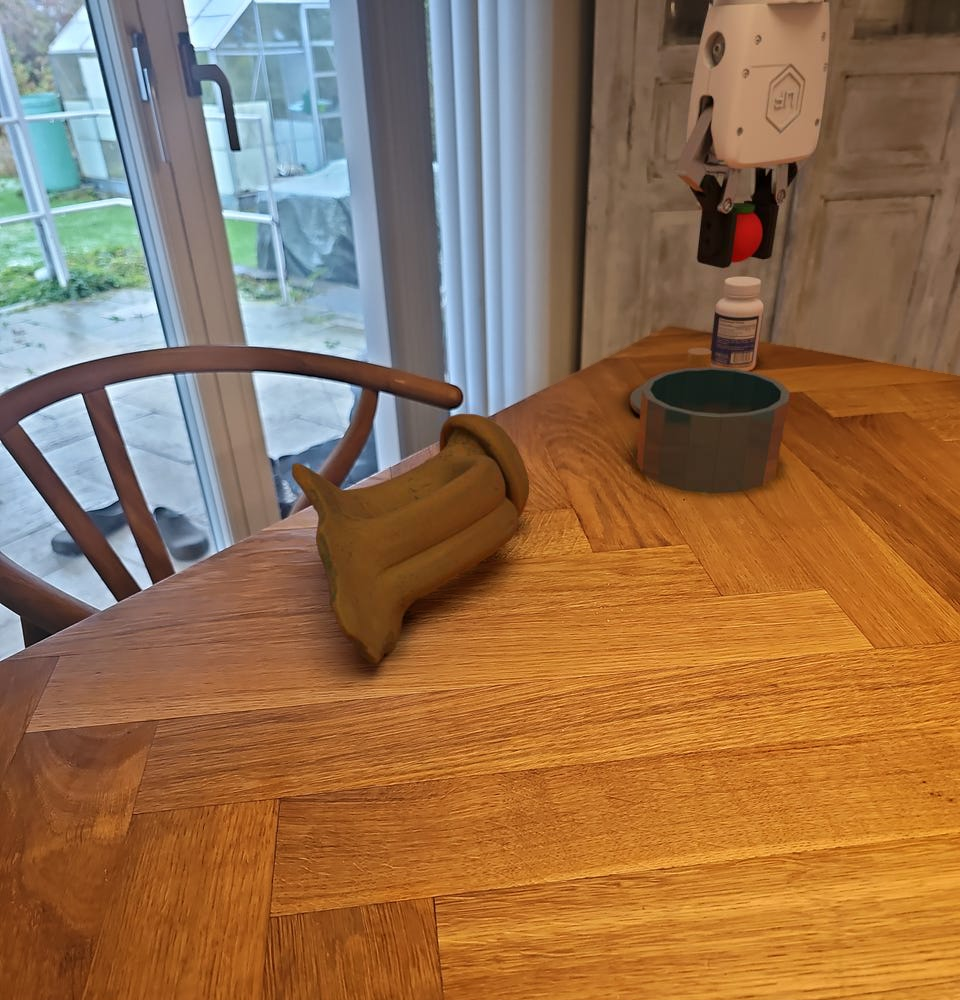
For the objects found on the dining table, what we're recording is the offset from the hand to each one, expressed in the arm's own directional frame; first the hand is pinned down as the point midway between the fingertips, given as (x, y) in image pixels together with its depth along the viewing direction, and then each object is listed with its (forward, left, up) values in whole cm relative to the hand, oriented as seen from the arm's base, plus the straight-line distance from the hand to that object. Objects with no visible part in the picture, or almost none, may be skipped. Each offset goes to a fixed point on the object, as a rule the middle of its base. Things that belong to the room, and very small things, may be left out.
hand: (734, 258), depth 71 cm
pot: (0, +1, -18) cm, 18 cm away
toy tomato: (0, 0, 0) cm, 0 cm away
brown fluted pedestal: (+27, +18, -18) cm, 37 cm away
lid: (-2, -14, -18) cm, 23 cm away
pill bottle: (-11, -27, -18) cm, 35 cm away
